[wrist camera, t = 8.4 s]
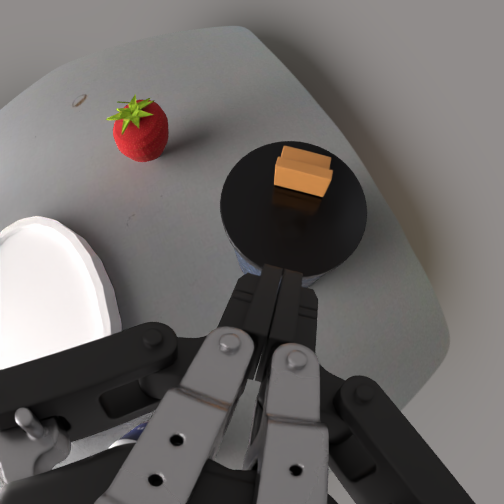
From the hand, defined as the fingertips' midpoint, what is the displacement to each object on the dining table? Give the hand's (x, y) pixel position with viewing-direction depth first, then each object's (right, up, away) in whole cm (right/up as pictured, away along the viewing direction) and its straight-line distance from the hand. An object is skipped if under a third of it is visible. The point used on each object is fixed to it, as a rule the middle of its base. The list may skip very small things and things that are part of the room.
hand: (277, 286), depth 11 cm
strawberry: (-12, +13, +21) cm, 27 cm away
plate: (-28, -8, +16) cm, 33 cm away
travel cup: (+2, +2, +17) cm, 17 cm away
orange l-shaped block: (+2, +6, +7) cm, 10 cm away
